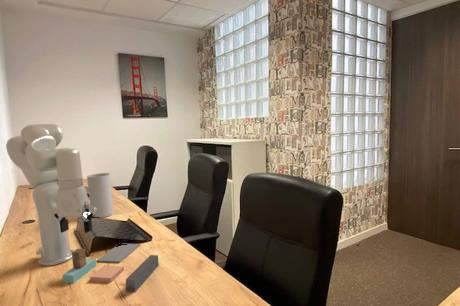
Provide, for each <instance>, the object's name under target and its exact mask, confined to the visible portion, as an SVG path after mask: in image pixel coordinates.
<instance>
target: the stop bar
mask: <svg viewBox="0 0 460 306" xmlns="http://www.w3.org/2000/svg"><path fill="white" fill-rule="evenodd" d="M159 264H160V263H159V255H156V254H155V255H154V254H150V255H149V256H148V257H147V258H146V259H145V260H143V262H142V263H141V264H140V265H139V266H138V267H137V268H136V269H134V271H132V273H131V274H129V276H128V277H126V279H125V289H126V292H128V293H129V292H130V293H136V292H137V291H138V289H139V288H141V286H143V284H144V283H145V281H147V280H148V278H150V276H151V275H152V274H153V273H154V271H155V270H156V269H158V268H159V266H160V265H159Z"/></svg>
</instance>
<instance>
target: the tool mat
mask: <svg viewBox="0 0 460 306" xmlns="http://www.w3.org/2000/svg"><path fill="white" fill-rule="evenodd" d="M126 244H127V245H121V246H118V247H116V246H114V247H113V248H112V249H110V250H109V251H108V252H106V253H104V254H103V255H102V256H101V257H98V259H96V263H110V262H115V264H120V263H122V262H123V261H124V260H125V259H126V258H128V257H129V256H130V255H131V254H133V252H135V251H136V250H137V249H138V248H139V247H140V246H141V243H126ZM135 249H136V250H135ZM129 254H130V255H129ZM128 255H129V256H128ZM123 259H124V260H123ZM122 260H123V261H122Z"/></svg>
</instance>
